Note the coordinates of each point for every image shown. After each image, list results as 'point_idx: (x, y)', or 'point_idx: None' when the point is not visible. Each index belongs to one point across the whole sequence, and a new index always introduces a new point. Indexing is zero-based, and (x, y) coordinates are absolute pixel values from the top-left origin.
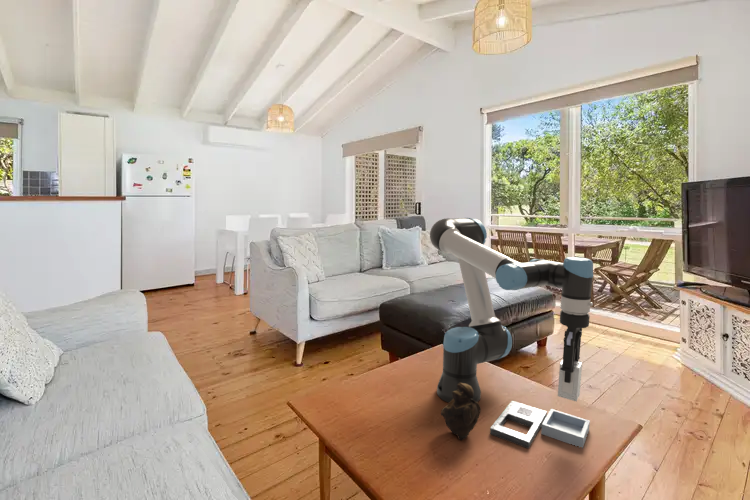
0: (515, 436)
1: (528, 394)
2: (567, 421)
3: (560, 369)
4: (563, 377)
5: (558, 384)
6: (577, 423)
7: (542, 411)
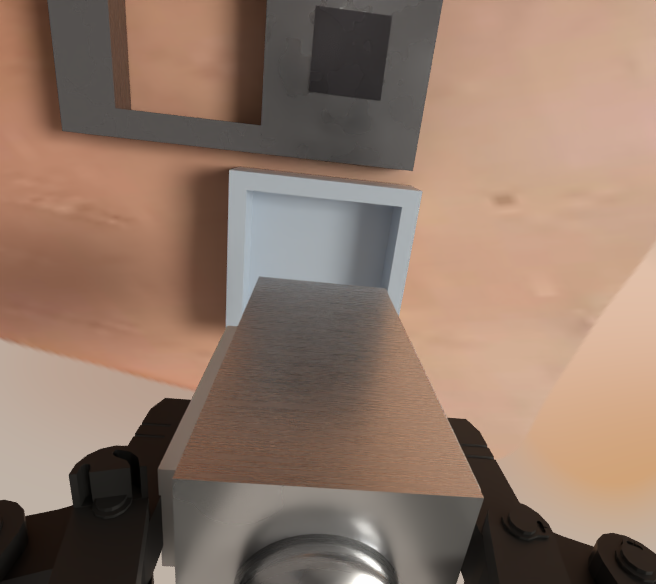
0: (58, 54)
1: (631, 33)
2: (384, 265)
3: (93, 453)
4: (193, 404)
5: (243, 313)
6: None
7: (400, 149)
